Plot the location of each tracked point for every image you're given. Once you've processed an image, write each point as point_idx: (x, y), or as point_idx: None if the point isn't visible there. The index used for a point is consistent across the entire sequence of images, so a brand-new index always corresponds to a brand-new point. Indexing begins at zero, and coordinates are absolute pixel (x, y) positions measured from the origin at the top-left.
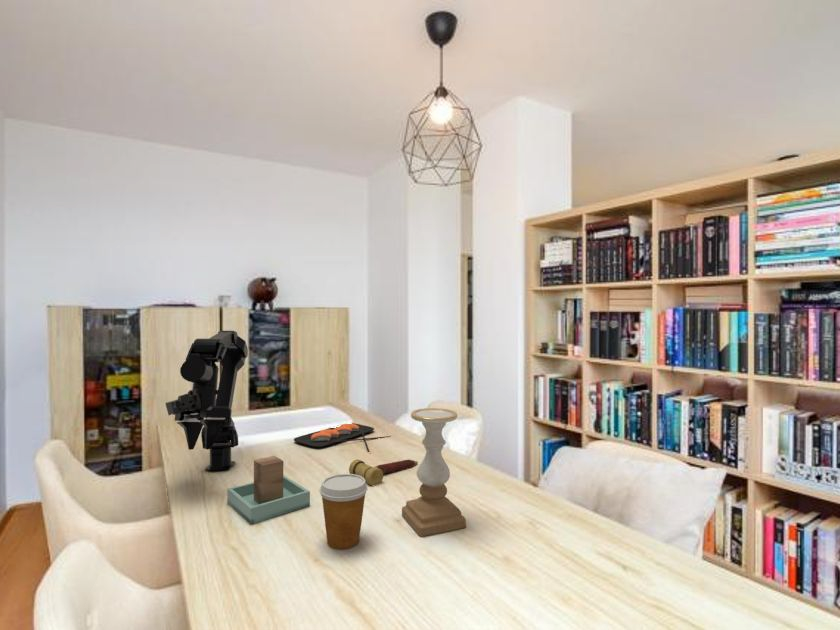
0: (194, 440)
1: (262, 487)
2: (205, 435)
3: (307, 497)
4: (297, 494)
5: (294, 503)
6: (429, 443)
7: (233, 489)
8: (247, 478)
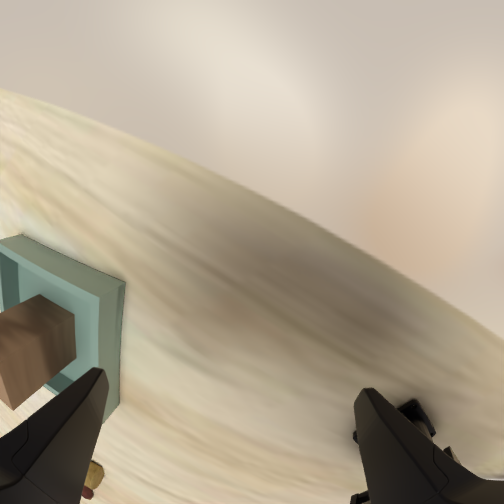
0: (370, 452)
1: (7, 310)
2: (44, 427)
3: None
4: None
5: None
6: None
7: (91, 305)
8: (248, 424)
